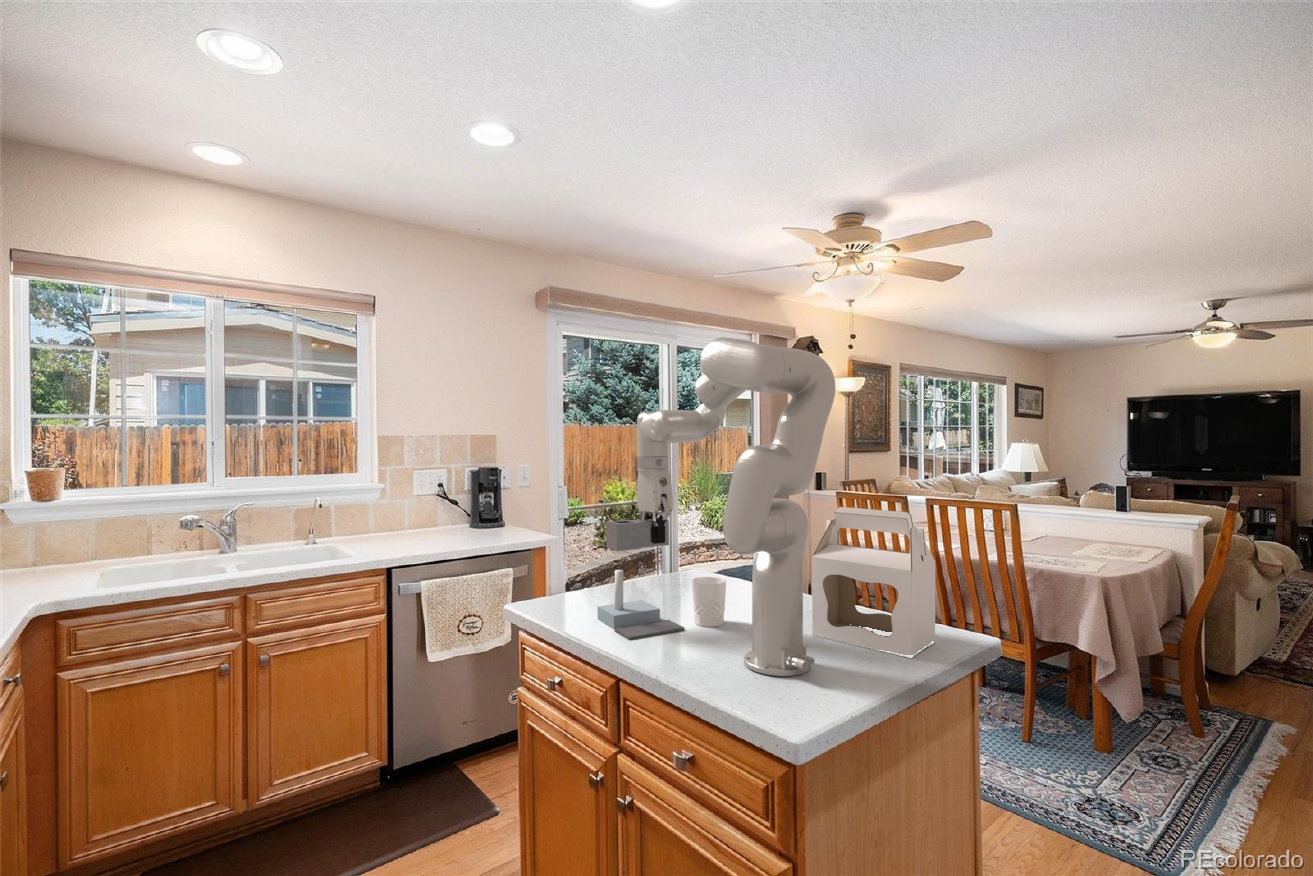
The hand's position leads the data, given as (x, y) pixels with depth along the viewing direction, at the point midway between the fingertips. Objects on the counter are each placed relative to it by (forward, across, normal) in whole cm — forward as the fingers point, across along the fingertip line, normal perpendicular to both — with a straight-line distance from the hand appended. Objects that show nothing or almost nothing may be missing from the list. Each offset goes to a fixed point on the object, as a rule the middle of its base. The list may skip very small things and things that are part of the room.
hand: (653, 540), depth 150 cm
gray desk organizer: (+1, 0, +4) cm, 4 cm away
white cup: (+19, -8, -10) cm, 23 cm away
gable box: (+20, -35, -34) cm, 53 cm away
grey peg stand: (+19, +3, +5) cm, 20 cm away
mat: (+19, -6, +5) cm, 21 cm away
